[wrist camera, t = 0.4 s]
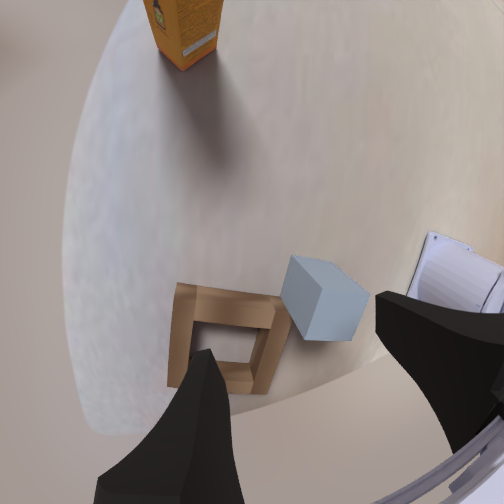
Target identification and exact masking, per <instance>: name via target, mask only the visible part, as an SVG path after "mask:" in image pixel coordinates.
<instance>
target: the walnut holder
mask: <svg viewBox="0 0 504 504" xmlns="http://www.w3.org/2000/svg"><path fill="white" fill-rule="evenodd" d="M193 320H195V321H202V322H210V323H218V324H226V325H235V326H245V327H255V328H259V330H258V334H257V337H256V341H255V344H254V348H253V352H252V355H251V359H250V362H249V363H236V362H224V361H216V363H217V365H218V367H219V369H220V372H221V374H222V376H223V378H224V380H225V383H226V388H227V393H238V394H267V392H268V389H269V387H270V384H271V381H272V379H273V376H274V373H275V370H276V368H277V365H278V362H279V359H280V357H281V354H282V351H283V348H284V345H285V342H286V339H287V336H288V333H289V330H290V327H291V324H292V321H293V319H292V317H291V315H290V314H289V312H288V310H287V308H286V306H285V305H284V303H283V301H282V299H281V298H280V297H278V296H270V295H261V294H254V293H246V292H238V291H231V290H224V289H217V288H210V287H203V286H196V285H190V284H184V283H177V286H176V291H175V295H174V302H173V311H172V322H171V333H170V346H169V361H168V379H167V387H173V388H179V386H180V384H181V382H182V380H183V378H184V376H185V374H186V372H187V370H188V367H189V365H190V363H191V361H192V358H189V351H190V343H191V335H192V328H193Z"/></svg>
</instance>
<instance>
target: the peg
mask: <svg viewBox="0 0 504 504" xmlns="http://www.w3.org/2000/svg"><path fill="white" fill-rule="evenodd" d="M369 297H370V293H369V292H368V291H366V290H365V289H364V288H363V287H362V286H360V285H359V284H358V283H357V282H356V281H354V280H353V279H352V278H351V277H350V276H348V275H347V274H346V273H345V272H343V271H342V270H341V269H340V268H339V267H337V266H336V265H335V264H334V263H332V262H331V261H325V260H319V259H313V258H307V257H301V256H296V255H291V258H290V262H289V265H288V269H287V273H286V276H285V280H284V284H283V287H282V291H281V294H280V298H281V299H282V301H283V303H284V305H285V306H286V308H287V310H288V312H289V314H290V315H291V317H292V319H293V321H294V322H295V324H296V326H297V328H298V330H299V331H300V333H301V335H302V337H303V339H304V340H317V341H351V340H352V338H353V336H354V333H355V331H356V329H357V326H358V324H359V322H360V319H361V317H362V314H363V312H364V309H365V307H366V304H367V302H368V299H369Z"/></svg>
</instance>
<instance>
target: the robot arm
mask: <svg viewBox="0 0 504 504" xmlns="http://www.w3.org/2000/svg"><path fill="white" fill-rule="evenodd" d="M473 251H474V249H473V247H471V246H468V245H466V244H463V243H461V242H458V241H456V240H453V239H451V238H448V237H445V236H443V235H440V234H437V233H435V232H432V231H430V232H429V233H428V235H427V238H426V241H425V245H424V248H423V251H422V254H421V257H420V261H419V264H418V266H417V269H416V272H415V275H414V278H413V281H412V283H411V286H410V289H409V291H408V294H407V296H405V295H401V294H398V293H394V292H391V291H385V292H382V293H380V294H377V295H375V297H376V329H375V332H376V334H377V335H378V337H379V338H380V340H381V342H382V343H383V344H384V346H385V347H386V349H387V350H388V351H389V352H390V353H391V355H392V356H393V357H394V358H395V359H396V360H397V361H398V363H399V364H400V365H401V366H402V367H403V368H404V369H405V370H406V371H407V373H408V374H409V375H410V376H411V377H412V378H413V380H414V381H415V382H416V383H417V385H418V386H419V388H420V389H421V391H422V392H423V393H424V395H425V397H426V398H427V400H428V402H429V403H430V405H431V407H432V408H433V410H434V412H435V414H436V415H437V418H438V420H439V422H440V424H441V426H442V428H443V430H444V432H445V434H446V437H447V439H448V442H449V444H450V447H451V450H452V453H453V454H454V455H452V456H451V457H450V458H448V459H447V460H445V461H444V462H443V463H441V464H440V465H439V466H437V467H435V468H434V469H432V470H431V471H430V472H428V473H426V474H425V475H423V476H422V477H420V478H418V479H417V480H415V481H413V482H412V483H410V484H408V485H407V486H405V487H403V488H401V489H399V490H398V491H396V492H394V493H392V494H390V495H388V496H386V497H384V498H382V499H380V500H378V501H376V502H374V503H371V504H409V503H411V502H413V501H414V500H416V499H418V498H419V497H421V496H422V495H424V494H426V493H427V492H429V491H431V490H432V489H434V488H435V487H436V486H438V485H440V484H441V483H442V482H444V481H445V480H446V479H448V478H449V477H451V476H452V475H453V474H455V473H456V472H457V471H459V470H460V469H461V468H462V467H464V466H465V465H466V464H467V463H468V462H470V461H471V460H472V459H473V458H474V457H475V456H477V455H478V454H479V453H480V452H481V453H480V457H478V458H477V460H475V461H474V462H473V463H472V464H471V465H470V466H469V467H468V468H467V469H466V470H465V471H464V472H463V473H462V474H461V475H460V476H459V477H458V478H457V479H456V480H455V481H453V482H452V483H451V484H450V485H449V489H450V490H451V492H452V495H450V496H449V497H448V498H446V499H445V500H444V501H442V502H441V503H439V504H504V267H503V266H501V265H499V264H497V263H495V262H493V261H491V260H488V259H486V258H484V257H482V256H480V255H478V254H475V253H473ZM93 504H245V503H244V499H243V495H242V492H241V488H240V483H239V479H238V475H237V471H236V466H235V461H234V456H233V448H232V436H231V421H230V406H229V399H228V393H227V388H226V383H225V380H224V378H223V376H222V374H221V372H220V369H219V367H218V365H217V363H216V361H215V358H214V356H213V354H212V351H211V349H206V350H202V351H197V352H195V354H194V356H193V358H192V361H191V363H190V365H189V367H188V370H187V372H186V374H185V376H184V378H183V380H182V382H181V384H180V386H179V388H178V390H177V392H176V394H175V395H174V397H173V399H172V401H171V402H170V404H169V406H168V407H167V409H166V411H165V412H164V414H163V415H162V417H161V418H160V419H159V421H158V422H157V424H156V425H155V426H154V428H153V429H152V430H151V431H150V432H149V433H148V435H147V436H146V437H145V438H144V439H143V440H142V442H140V444H139V445H138V446H137V447H136V448H135V449H134V450H133V451H131V452H130V453H129V454H128V455H127V456H126V457H125V458H124V459H122V460H121V461H120V462H119V463H118V464H116V465H115V466H114V467H112V468H111V469H109V470H108V471H107V472H105V473H104V474H102V475H101V476H99V477H98V480H97V486H96V491H95V497H94V503H93Z"/></svg>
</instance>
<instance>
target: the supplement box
mask: <svg viewBox="0 0 504 504" xmlns="http://www.w3.org/2000/svg"><path fill="white" fill-rule="evenodd" d="M223 1H224V0H143V2H144V5H145V9H146V12H147V16H148V19H149V22H150V26H151V29H152V32H153V35H154V38H155V42H156V45H157V47H158V48H159V50H160V51H161V52H163V53H164V54H165V56H166V57H167V58H168V59H169V60H170V61H172V62H173V63H174V64H175V65H176V66H177V67H178V68H179V69H180V70H181V71H185V70H186V69H187V68H189V67H190V66H192V65H193V64H194V63H196V62H197V61H198V60H200V59H201V58H203V57H204V56H206V55H207V54H209V53H210V52H211V51H213V50H215V49H216V46H217V39H218V32H219V26H220V19H221V12H222V6H223Z"/></svg>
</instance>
